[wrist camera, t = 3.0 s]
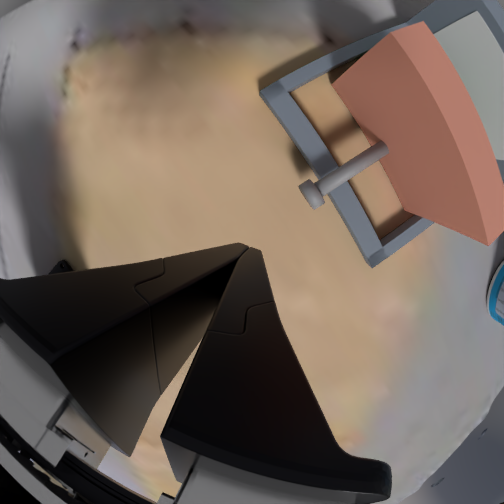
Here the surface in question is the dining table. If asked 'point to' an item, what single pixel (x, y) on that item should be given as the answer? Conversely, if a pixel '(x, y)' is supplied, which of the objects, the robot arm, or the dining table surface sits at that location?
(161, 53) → the dining table surface
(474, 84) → the vise body
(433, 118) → the sliding jaw
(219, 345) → the robot arm
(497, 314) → the beverage bottle
